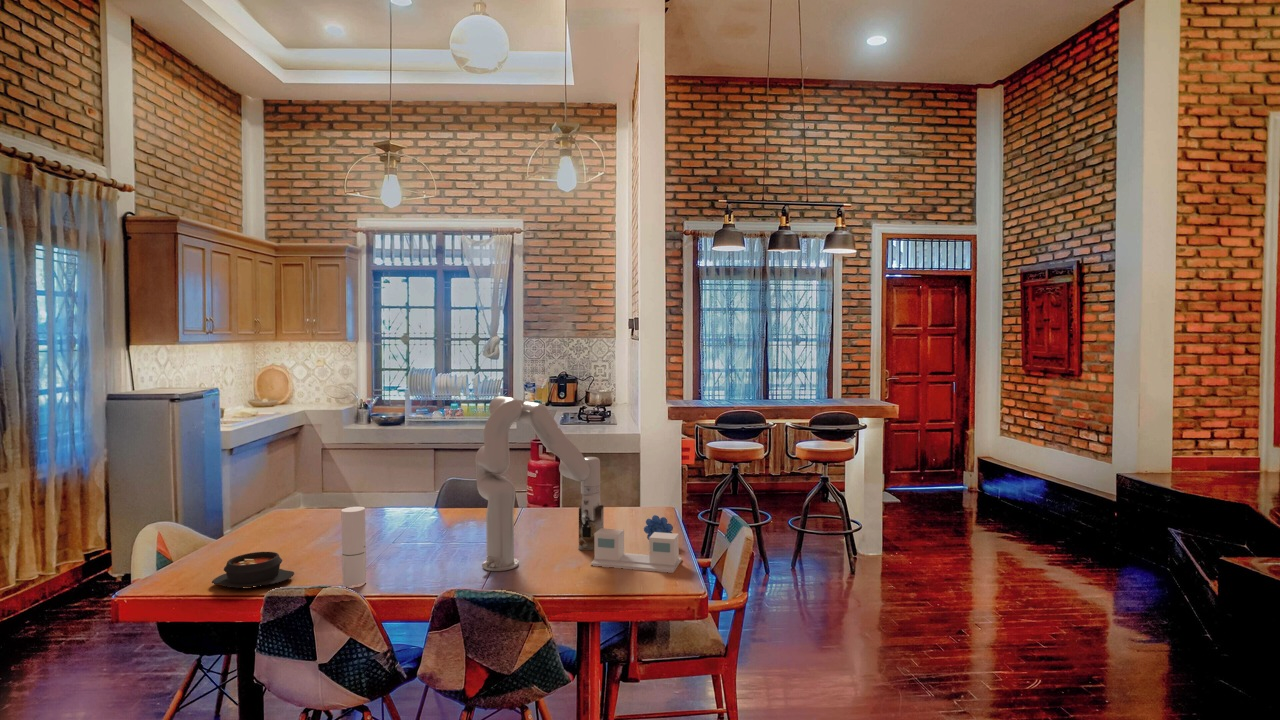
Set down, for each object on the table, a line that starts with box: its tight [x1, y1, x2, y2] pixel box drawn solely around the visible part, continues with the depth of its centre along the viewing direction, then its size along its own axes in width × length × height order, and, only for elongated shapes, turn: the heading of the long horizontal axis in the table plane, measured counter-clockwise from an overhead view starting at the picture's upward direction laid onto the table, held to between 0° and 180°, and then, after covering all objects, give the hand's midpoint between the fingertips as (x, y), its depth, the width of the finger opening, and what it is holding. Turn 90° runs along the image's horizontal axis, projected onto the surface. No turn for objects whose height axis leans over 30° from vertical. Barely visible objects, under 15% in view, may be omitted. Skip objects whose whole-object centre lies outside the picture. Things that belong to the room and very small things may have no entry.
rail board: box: [590, 527, 683, 574], centre depth 239 cm, size 14×30×11 cm, turn 74°
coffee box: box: [578, 504, 605, 551], centre depth 258 cm, size 9×6×16 cm
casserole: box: [211, 551, 295, 589], centre depth 223 cm, size 25×19×8 cm
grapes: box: [643, 514, 674, 541], centre depth 259 cm, size 12×7×12 cm, turn 92°
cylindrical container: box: [340, 506, 367, 587], centre depth 220 cm, size 7×7×25 cm
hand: (591, 533), depth 258 cm, fingers open, 9 cm apart
